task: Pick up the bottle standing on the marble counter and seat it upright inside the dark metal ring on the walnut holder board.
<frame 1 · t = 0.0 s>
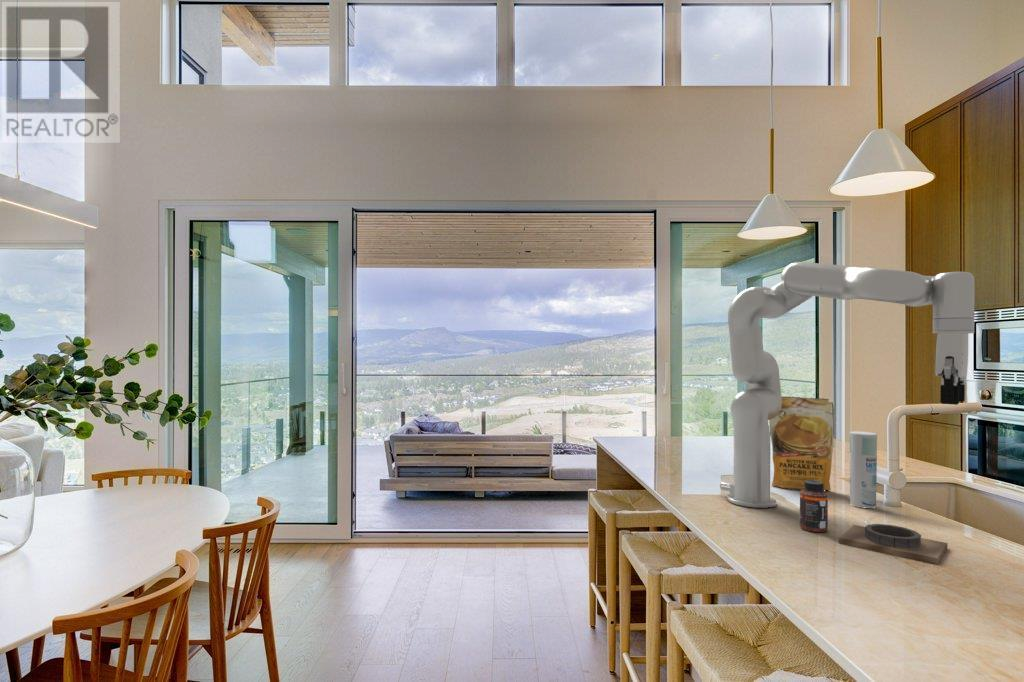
hand: (952, 402, 132), 31 cm above the countertop, tool pointing down, fingers open, 9 cm apart
supplement bottle: (813, 530, 139), on the countertop
pancake mix bag: (800, 488, 180), on the countertop
spray can: (862, 506, 161), on the countertop
bottle holder: (892, 545, 128), on the countertop
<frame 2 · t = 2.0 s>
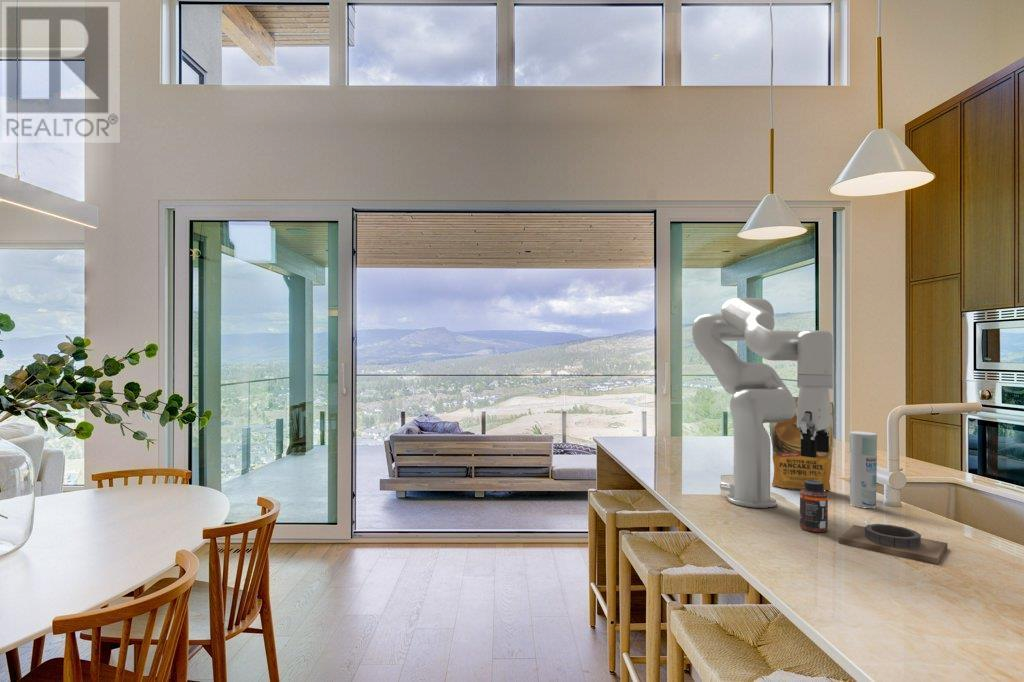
hand: (815, 454, 139), 18 cm above the countertop, tool pointing down, fingers open, 9 cm apart
nothing on the countertop moved.
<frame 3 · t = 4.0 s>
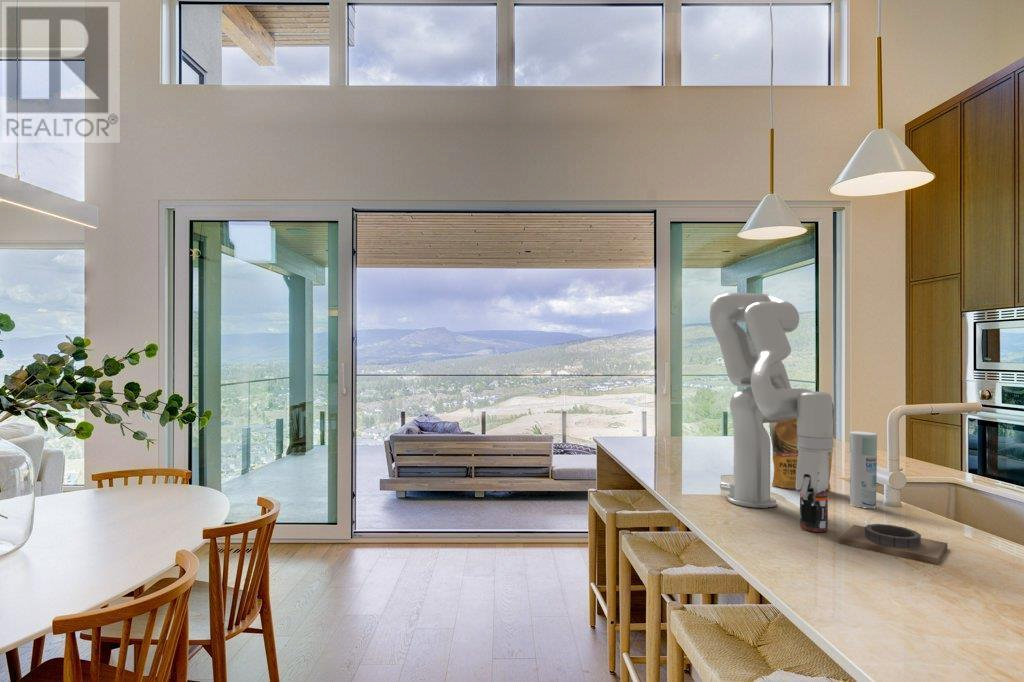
hand: (813, 518, 139), 3 cm above the countertop, tool pointing down, fingers closed on supplement bottle, 6 cm apart
supplement bottle: (813, 530, 139), on the countertop, touching gripper
everything else where it was.
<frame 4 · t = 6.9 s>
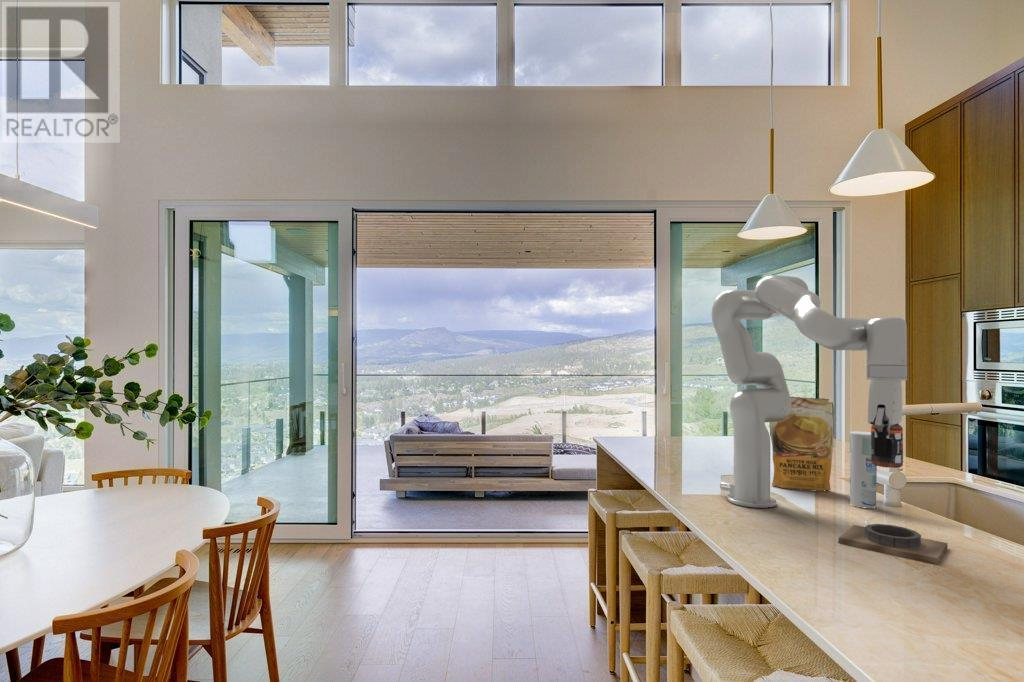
hand: (887, 454, 129), 20 cm above the countertop, tool pointing down, fingers closed on supplement bottle, 6 cm apart
supplement bottle: (887, 466, 129), point 17 cm above the countertop, touching gripper
everything else where it was.
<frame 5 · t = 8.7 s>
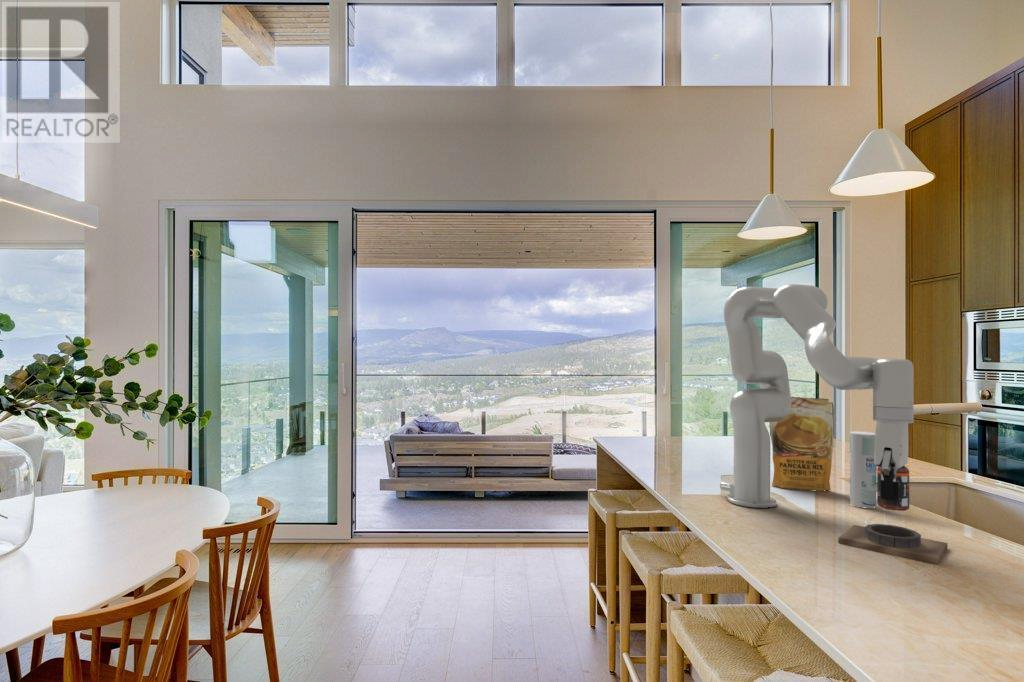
hand: (893, 496, 128), 11 cm above the countertop, tool pointing down, fingers closed on supplement bottle, 6 cm apart
supplement bottle: (893, 508, 128), point 8 cm above the countertop, touching gripper
everything else where it was.
when the fingers open (5 cm above the countertop, at t = 10.3 s): supplement bottle drops 1 cm, resting on bottle holder.
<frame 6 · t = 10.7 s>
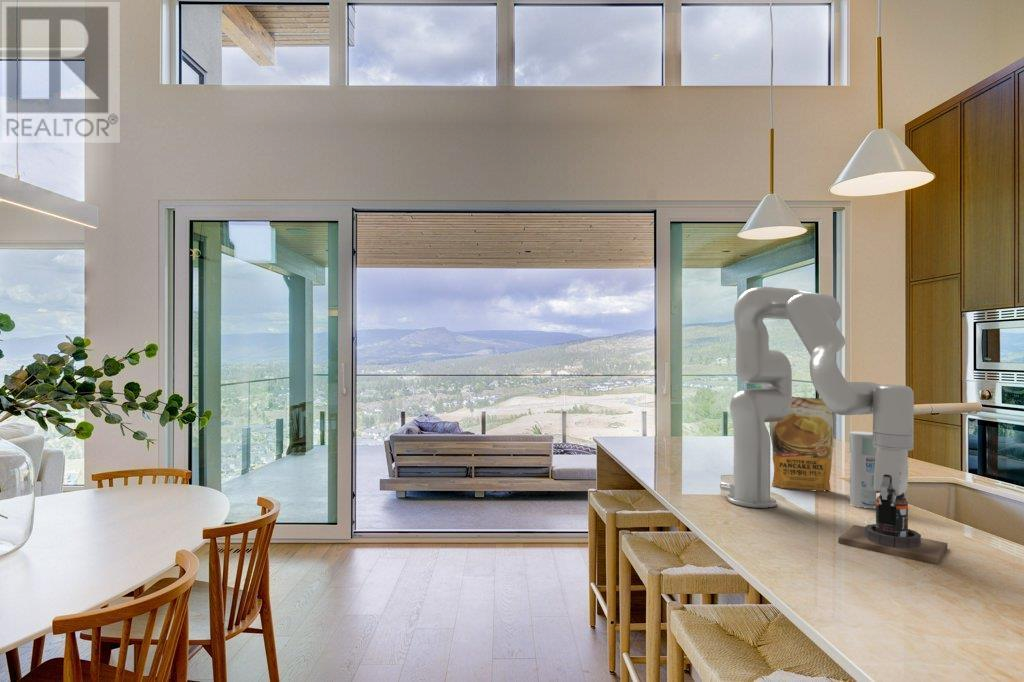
hand: (892, 519, 128), 6 cm above the countertop, tool pointing down, fingers open, 9 cm apart
supplement bottle: (891, 540, 128), point 1 cm above the countertop, touching bottle holder
everything else where it was.
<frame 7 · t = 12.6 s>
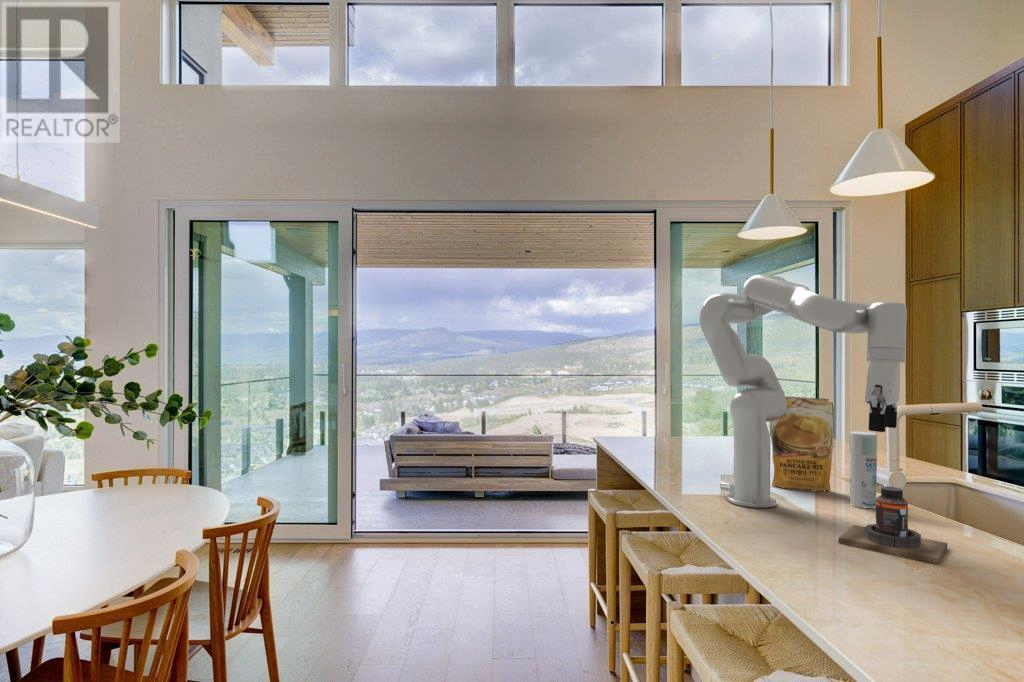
hand: (882, 429, 136), 25 cm above the countertop, tool pointing down, fingers open, 9 cm apart
nothing on the countertop moved.
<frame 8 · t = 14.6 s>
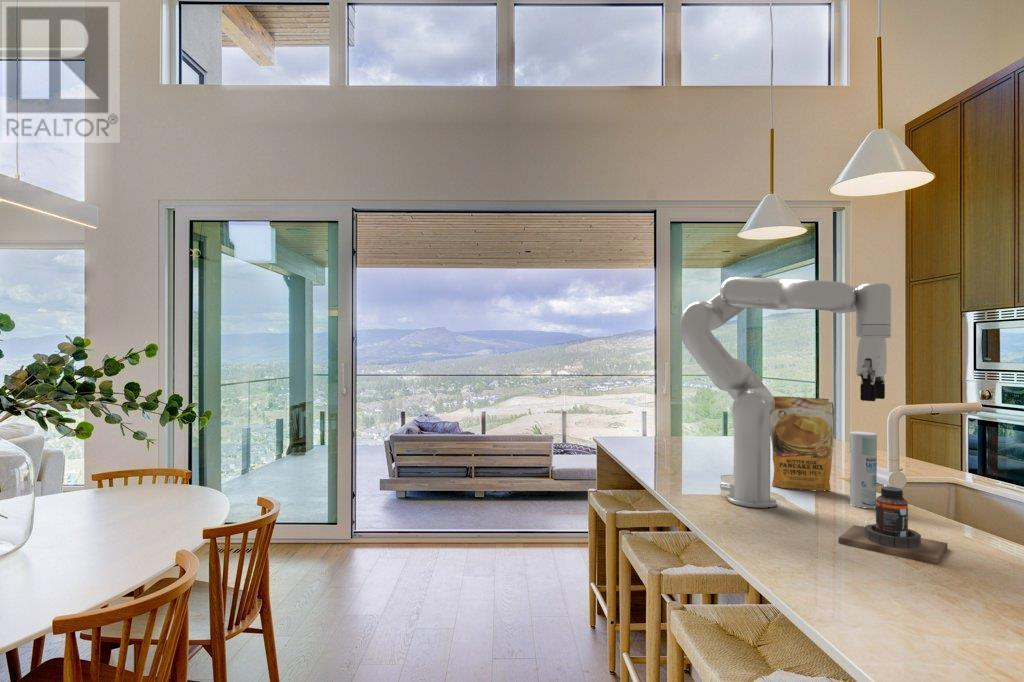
hand: (872, 399, 148), 30 cm above the countertop, tool pointing down, fingers open, 9 cm apart
nothing on the countertop moved.
at the end: supplement bottle 0.3 cm off-centre on the bottle holder, point 1.0 cm above the bottle holder's base; supplement bottle tilted 0°; the gripper is holding nothing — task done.
